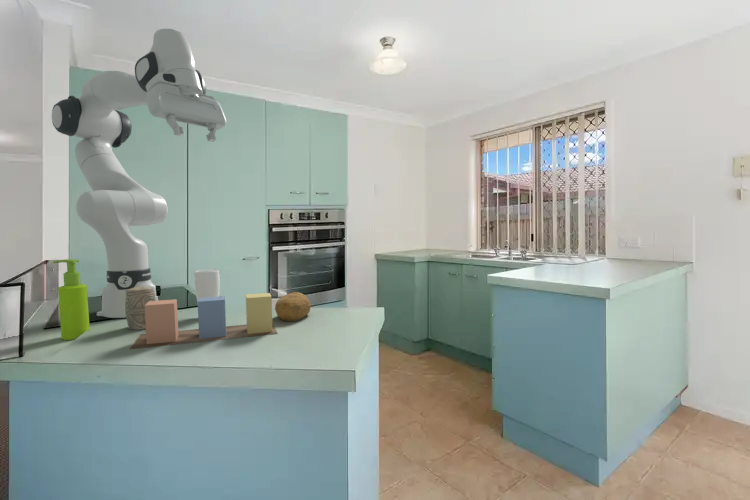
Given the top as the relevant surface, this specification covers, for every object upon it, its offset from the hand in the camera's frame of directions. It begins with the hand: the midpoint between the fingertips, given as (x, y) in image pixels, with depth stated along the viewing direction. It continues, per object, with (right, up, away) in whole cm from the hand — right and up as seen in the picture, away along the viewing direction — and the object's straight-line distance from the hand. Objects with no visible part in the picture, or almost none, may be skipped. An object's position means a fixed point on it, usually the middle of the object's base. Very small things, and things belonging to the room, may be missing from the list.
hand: (196, 137), depth 104 cm
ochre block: (+17, -50, -2) cm, 53 cm away
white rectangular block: (-2, -50, +13) cm, 52 cm away
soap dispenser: (-31, -52, -1) cm, 60 cm away
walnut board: (+5, -52, -5) cm, 52 cm away
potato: (+23, -50, +12) cm, 57 cm away
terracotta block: (-4, -51, -10) cm, 52 cm away
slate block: (+7, -50, -6) cm, 51 cm away
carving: (-15, -51, +2) cm, 54 cm away
